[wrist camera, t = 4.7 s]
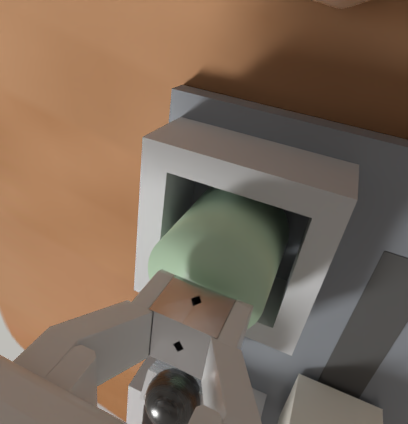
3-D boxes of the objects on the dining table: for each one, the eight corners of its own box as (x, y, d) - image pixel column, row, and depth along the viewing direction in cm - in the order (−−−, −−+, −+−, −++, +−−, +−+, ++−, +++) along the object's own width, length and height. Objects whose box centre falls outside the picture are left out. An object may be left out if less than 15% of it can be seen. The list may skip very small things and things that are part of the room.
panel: (582, 181, 11) (668, 248, 8) (343, 489, 23) (339, 568, 20) (182, 84, 15) (130, 103, 12) (149, 393, 26) (118, 447, 23)
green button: (301, 198, 13) (280, 258, 10) (275, 280, 15) (250, 352, 12) (201, 168, 14) (152, 213, 11) (189, 248, 16) (144, 306, 13)
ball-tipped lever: (242, 326, 18) (204, 404, 11) (230, 362, 18) (187, 458, 12) (199, 309, 19) (138, 372, 12) (188, 343, 19) (123, 425, 12)
